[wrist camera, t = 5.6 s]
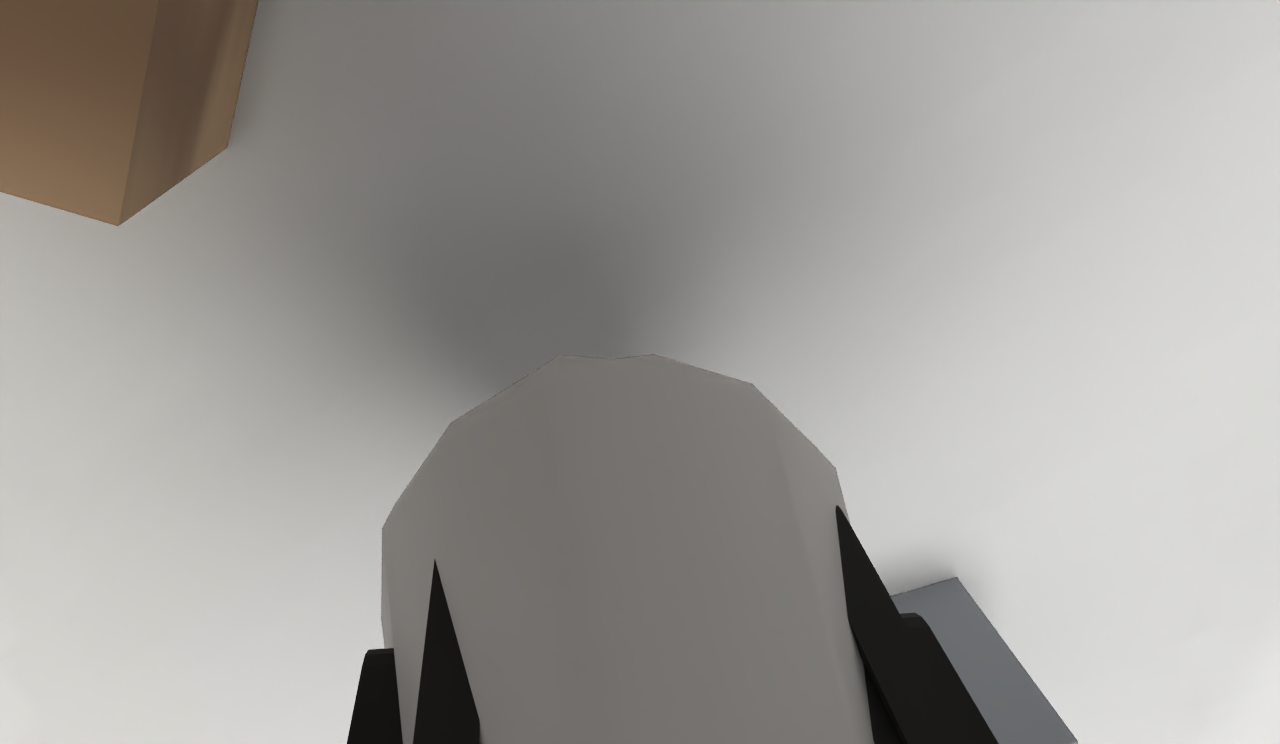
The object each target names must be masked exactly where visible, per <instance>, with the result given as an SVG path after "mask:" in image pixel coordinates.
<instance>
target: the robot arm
mask: <svg viewBox="0 0 1280 744" xmlns="http://www.w3.org/2000/svg"><path fill="white" fill-rule="evenodd" d="M835 512H836V520H837V529H838V538H839V547H840V555H841V564H842V573H843V582H844V590H845V599H846V608H847V617H848V621H849V624H850V627H851V630H852V633H853V636H854V639H855V642H856V645H857V648H858V651H859V654H860V656H861V659H862V661H863V665H864V673H865V681H866V688H867V696H868V704H869V712H870V720H871V727H872V735H873V741H874V744H999V743H998V741H997V740H996V738H995V736H994V735H993V733H992V731H991V730H990V728H989V726H988V725H987V723H986V721H985V719H984V718H983V716H982V714H981V713H980V711H979V709H978V708H977V706H976V704H975V703H974V701H973V699H972V697H971V696H970V694H969V692H968V691H967V689H966V687H965V686H964V684H963V682H962V681H961V679H960V677H959V675H958V674H957V672H956V670H955V669H954V667H953V665H952V664H951V662H950V660H949V658H948V657H947V655H946V653H945V652H944V650H943V648H942V647H941V645H940V643H939V642H938V640H937V638H936V636H935V635H934V633H933V631H932V630H931V628H930V626H929V625H928V624H927V622H926V621H925V620H924V619H923V617H922V616H920V615H918V614H916V613H901V614H900V613H899V611H898V610H897V608H896V606H895V604H894V602H893V601H892V599H891V597H890V595H889V593H888V592H887V590H886V588H885V586H884V584H883V583H882V581H881V579H880V577H879V576H878V574H877V572H876V570H875V568H874V567H873V565H872V563H871V561H870V559H869V558H868V556H867V554H866V552H865V550H864V549H863V547H862V545H861V543H860V541H859V540H858V538H857V536H856V534H855V533H854V531H853V529H852V527H851V525H850V524H849V522H848V520H847V518H846V516H845V515H844V513H843V511H842V510H841V508H840V507H839V506H838V505H836V510H835ZM479 738H480V720H479V716H478V713H477V709H476V705H475V702H474V698H473V695H472V691H471V687H470V684H469V680H468V676H467V673H466V669H465V666H464V662H463V658H462V655H461V651H460V647H459V644H458V640H457V637H456V633H455V629H454V626H453V622H452V619H451V615H450V611H449V608H448V604H447V600H446V597H445V593H444V590H443V586H442V582H441V579H440V575H439V571H438V568H437V564H436V561H435V559H434V568H433V576H432V584H431V593H430V601H429V610H428V618H427V627H426V635H425V644H424V652H423V661H422V669H421V678H420V686H419V694H418V703H417V711H416V720H415V728H414V737H413V744H479ZM347 744H403V739H402V728H401V718H400V708H399V697H398V687H397V676H396V666H395V656H394V648H388V649H373V650H368V651H367V653H366V654H365V658H364V661H363V665H362V670H361V675H360V680H359V685H358V690H357V695H356V700H355V705H354V710H353V715H352V720H351V725H350V731H349V736H348V741H347Z"/></svg>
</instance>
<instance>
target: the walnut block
mask: <svg viewBox="0 0 1280 744" xmlns="http://www.w3.org/2000/svg"><path fill="white" fill-rule="evenodd" d="M257 5H258V0H0V192H3V193H7V194H10V195H14V196H17V197H21V198H24V199H27V200H31V201H34V202H38V203H41V204H44V205H48V206H51V207H55V208H58V209H62V210H65V211H68V212H72V213H75V214H79V215H82V216H86V217H89V218H92V219H96V220H99V221H103V222H106V223H110V224H113V225H116V226H119V225H121V224H122V223H123V222H125V221H126V220H128V219H129V218H130V217H132V216H133V215H135V214H136V213H137V212H139V211H140V210H141V209H143V208H144V207H146V206H147V205H148V204H150V203H151V202H153V201H154V200H155V199H157V198H158V197H159V196H161V195H162V194H164V193H165V192H166V191H168V190H169V189H171V188H172V187H173V186H175V185H176V184H177V183H179V182H180V181H182V180H183V179H184V178H186V177H187V176H189V175H190V174H191V173H193V172H194V171H195V170H197V169H198V168H200V167H201V166H202V165H204V164H205V163H207V162H208V161H209V160H211V159H212V158H213V157H215V156H216V155H218V154H219V153H220V152H222V151H223V150H224V149H226V148H227V145H228V140H229V135H230V131H231V126H232V121H233V117H234V112H235V107H236V103H237V98H238V93H239V89H240V84H241V79H242V75H243V70H244V65H245V61H246V56H247V51H248V47H249V42H250V37H251V33H252V28H253V23H254V19H255V14H256V9H257Z"/></svg>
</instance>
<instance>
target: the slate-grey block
mask: <svg viewBox="0 0 1280 744" xmlns="http://www.w3.org/2000/svg"><path fill="white" fill-rule="evenodd" d="M890 597H891V599H892V601H893V602H894V604H895V606H896V608H897V610H898V611H899V613H900V614H901V613H916V614H918V615H920V616H922V617H923V619H924V620H925V621H926V622H927V624H928V625H929V626H930V628H931V630H932V631H933V633H934V635H935V636H936V638H937V640H938V642H939V643H940V645H941V647H942V648H943V650H944V652H945V653H946V655H947V657H948V658H949V660H950V662H951V664H952V665H953V667H954V669H955V670H956V672H957V674H958V675H959V677H960V679H961V681H962V682H963V684H964V686H965V687H966V689H967V691H968V692H969V694H970V696H971V697H972V699H973V701H974V703H975V704H976V706H977V708H978V709H979V711H980V713H981V714H982V716H983V718H984V719H985V721H986V723H987V725H988V726H989V728H990V730H991V731H992V733H993V735H994V736H995V738H996V740H997V741H998V743H999V744H1078V741H1077V739H1076V738H1075V737H1074V735H1073V734H1072V733H1071V731H1070V730H1069V729H1068V727H1067V726H1066V725H1065V723H1064V722H1063V720H1062V719H1061V718H1060V716H1059V715H1058V714H1057V712H1056V711H1055V710H1054V708H1053V707H1052V706H1051V704H1050V703H1049V701H1048V700H1047V699H1046V697H1045V696H1044V695H1043V693H1042V692H1041V691H1040V689H1039V688H1038V687H1037V685H1036V684H1035V682H1034V681H1033V680H1032V678H1031V677H1030V676H1029V674H1028V673H1027V672H1026V670H1025V669H1024V668H1023V666H1022V665H1021V663H1020V662H1019V661H1018V659H1017V658H1016V657H1015V655H1014V654H1013V653H1012V651H1011V650H1010V649H1009V647H1008V646H1007V644H1006V643H1005V642H1004V640H1003V639H1002V638H1001V636H1000V635H999V634H998V632H997V631H996V630H995V628H994V627H993V625H992V624H991V623H990V621H989V620H988V619H987V617H986V616H985V615H984V613H983V612H982V611H981V609H980V608H979V606H978V605H977V604H976V602H975V601H974V600H973V598H972V597H971V596H970V594H969V593H968V592H967V590H966V589H965V587H964V586H963V585H962V583H961V582H960V581H959V579H958V578H957V577H955V578H952V579H948V580H945V581H941V582H938V583H935V584H931V585H928V586H924V587H921V588H917V589H914V590H911V591H907V592H904V593H900V594H897V595H893V596H890Z"/></svg>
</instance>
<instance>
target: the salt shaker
mask: <svg viewBox="0 0 1280 744" xmlns="http://www.w3.org/2000/svg"><path fill="white" fill-rule="evenodd" d="M836 505H838V506H839V507H840V508H841V510H842V511H843V513H844V515H845V516H846V518H847V520H848V522H849V518H848V514H847V510H846V507H845V503H844V499H843V495H842V491H841V487H840V483H839V480H838V476H837V472H836V468H835V467H834V466H833V465H832V464H831V462H830V461H829V460H828V459H827V458H826V457H825V456H824V455H823V454H822V453H821V452H820V451H819V450H818V448H817V447H816V446H815V445H814V444H812V443H811V442H810V441H809V440H808V439H807V438H806V437H805V436H804V435H803V434H802V433H801V432H800V431H799V430H798V429H797V428H796V427H795V426H794V425H793V424H792V423H791V422H790V421H789V420H788V419H787V418H786V417H785V416H784V415H783V414H782V413H781V412H780V411H779V410H778V409H777V408H776V407H775V406H774V405H773V404H772V403H771V402H770V401H769V400H768V399H767V398H766V397H765V396H764V395H763V394H762V393H761V392H760V391H759V390H758V389H757V388H756V387H755V386H754V385H753V384H751V383H747V382H744V381H741V380H737V379H734V378H731V377H727V376H724V375H721V374H717V373H714V372H711V371H707V370H704V369H701V368H697V367H694V366H691V365H687V364H684V363H681V362H677V361H674V360H671V359H667V358H664V357H661V356H657V355H654V354H653V355H644V356H635V357H626V358H618V359H605V358H592V357H580V356H568V355H558V356H557V357H556V358H554V359H553V360H551V361H550V362H548V363H547V364H546V365H544V366H543V367H541V368H539V369H538V370H536V371H535V372H533V373H531V374H530V375H528V376H526V377H525V378H523V379H522V380H520V381H518V382H517V383H515V384H513V385H512V386H510V387H508V388H507V389H505V390H504V391H502V392H500V393H499V394H497V395H495V396H494V397H492V398H491V399H489V400H487V401H486V402H484V403H482V404H481V405H479V406H478V407H476V408H474V409H473V410H471V411H469V412H468V413H466V414H464V415H463V416H461V417H460V418H458V419H456V420H455V421H453V422H451V423H450V425H449V426H448V428H447V429H446V431H445V432H444V434H443V435H442V437H441V438H440V439H439V441H438V442H437V444H436V445H435V447H434V448H433V450H432V451H431V453H430V454H429V455H428V457H427V458H426V460H425V461H424V463H423V464H422V466H421V467H420V469H419V470H418V471H417V473H416V474H415V476H414V477H413V479H412V480H411V482H410V483H409V485H408V486H407V487H406V489H405V490H404V492H403V493H402V495H401V496H400V498H399V499H398V501H397V502H396V503H395V505H394V507H393V509H392V511H391V513H390V515H389V516H388V518H387V520H386V522H385V524H384V526H383V528H382V597H381V621H382V629H383V637H384V646H385V649H388V648H394V656H395V666H396V676H397V687H398V697H399V708H400V718H401V728H402V739H403V744H413V737H414V728H415V720H416V711H417V703H418V694H419V686H420V678H421V669H422V661H423V652H424V644H425V635H426V627H427V618H428V610H429V601H430V593H431V584H432V576H433V568H434V559H435V561H436V564H437V568H438V571H439V575H440V579H441V582H442V586H443V590H444V593H445V597H446V600H447V604H448V608H449V611H450V615H451V619H452V622H453V626H454V629H455V633H456V637H457V640H458V644H459V647H460V651H461V655H462V658H463V662H464V666H465V669H466V673H467V676H468V680H469V684H470V687H471V691H472V695H473V698H474V702H475V705H476V709H477V713H478V716H479V720H480V738H479V744H874V741H873V735H872V727H871V720H870V712H869V704H868V696H867V688H866V681H865V673H864V665H863V661H862V659H861V656H860V654H859V651H858V648H857V645H856V642H855V639H854V636H853V633H852V630H851V627H850V624H849V621H848V617H847V608H846V599H845V590H844V582H843V573H842V564H841V555H840V547H839V538H838V529H837V520H836V512H835V510H836ZM849 524H850V522H849Z"/></svg>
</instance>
